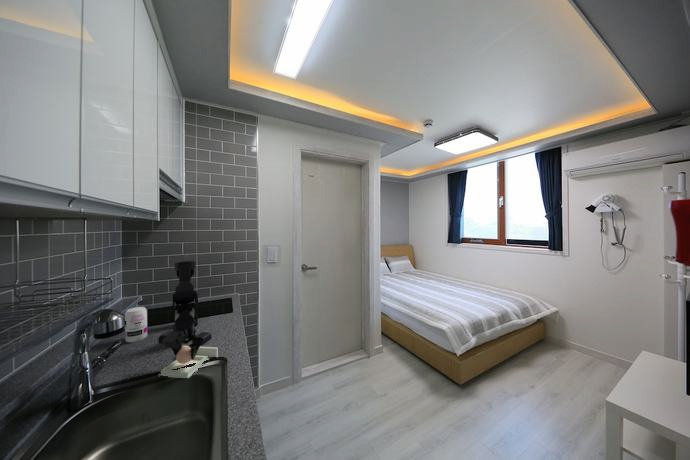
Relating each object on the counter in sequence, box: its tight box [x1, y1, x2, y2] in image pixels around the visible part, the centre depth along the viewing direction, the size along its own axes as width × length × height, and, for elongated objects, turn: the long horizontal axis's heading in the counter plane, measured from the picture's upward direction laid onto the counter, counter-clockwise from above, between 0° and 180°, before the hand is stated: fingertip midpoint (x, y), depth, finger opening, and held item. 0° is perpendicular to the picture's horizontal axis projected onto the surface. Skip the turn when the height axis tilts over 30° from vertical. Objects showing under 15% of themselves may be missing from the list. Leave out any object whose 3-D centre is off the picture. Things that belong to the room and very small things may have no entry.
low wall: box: [181, 345, 219, 358], centre depth 101 cm, size 16×1×4 cm, turn 85°
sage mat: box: [158, 355, 211, 379], centre depth 93 cm, size 12×12×2 cm
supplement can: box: [124, 306, 148, 343], centre depth 115 cm, size 8×8×15 cm
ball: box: [175, 347, 192, 364], centre depth 93 cm, size 6×6×6 cm
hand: (185, 358), depth 93 cm, fingers closed on ball, 6 cm apart
